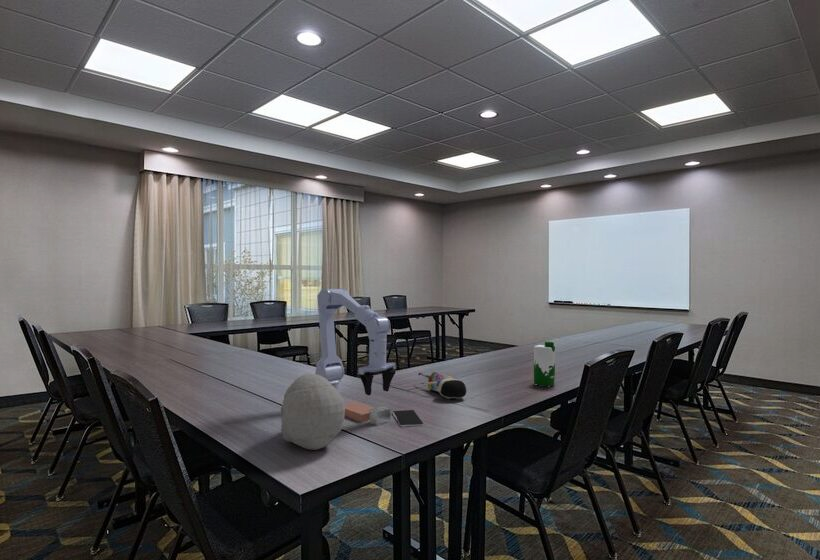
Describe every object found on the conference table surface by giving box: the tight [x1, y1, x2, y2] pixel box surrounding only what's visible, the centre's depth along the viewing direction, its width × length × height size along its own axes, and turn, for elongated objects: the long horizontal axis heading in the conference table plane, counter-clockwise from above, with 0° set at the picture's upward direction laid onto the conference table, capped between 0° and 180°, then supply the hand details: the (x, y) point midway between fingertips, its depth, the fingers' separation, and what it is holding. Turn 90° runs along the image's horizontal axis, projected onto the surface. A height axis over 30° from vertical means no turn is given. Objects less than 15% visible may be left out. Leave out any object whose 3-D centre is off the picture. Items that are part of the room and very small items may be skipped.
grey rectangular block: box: [368, 405, 391, 426], centre depth 146 cm, size 4×6×4 cm, turn 133°
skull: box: [280, 373, 346, 451], centre depth 128 cm, size 17×27×20 cm, turn 28°
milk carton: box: [533, 341, 557, 387], centre depth 201 cm, size 9×9×20 cm
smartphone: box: [391, 409, 425, 428], centre depth 149 cm, size 8×1×15 cm
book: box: [344, 401, 374, 423], centre depth 153 cm, size 14×8×3 cm, turn 45°
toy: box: [417, 371, 470, 400], centre depth 185 cm, size 23×9×30 cm
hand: (377, 392), depth 147 cm, fingers open, 7 cm apart
